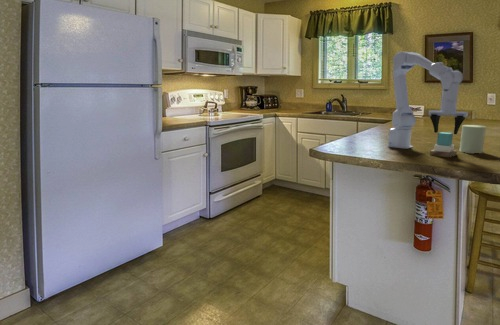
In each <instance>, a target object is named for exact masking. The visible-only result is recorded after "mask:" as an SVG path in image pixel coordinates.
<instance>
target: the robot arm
mask: <svg viewBox="0 0 500 325" xmlns="http://www.w3.org/2000/svg"><path fill="white" fill-rule="evenodd" d="M392 61H393V68H392V80H393V90H394V97H395V106H396V107H395V108H396V109H395V110H394V111H393V112H392V118H391V124H392V128H390V129H389V130H388V139H387V140H388V141H387V146H386V147H387V148H395V149H397V148H398V149H403V150H404V149H405V150H406V149H410V148H413V147H414V146H413V145H411V137H412V130H413V127H415V125H416V122H417V120H416V119H417V118H416V117H415V115H414V110H413V109H412V108H411V107H410V104H409V94H408V86H407V85H408V84H407V76H406V75H407V73H408V72H409V71H410V70H411V69H413V68H414V67H415V66H419V67H421V68H424V69H426V70H427V71H428V73H429V75H431V76H433V77H434V78H436V79H437V80H439V81H440V83H441V88H442V93H441V102H440V110H428V116H429V118H430V120H431V123H432V126H433V133H437V134H438V133H439V123H440V118H441V116H442V117H443V116H444V117H445V116H446V117H454V130H453V135H458V132H459V129H460V128H461V125H462V124H463V122H464V120H465V119H466V118H468V116H469V112H468V111H458V110H457V105H458V104H457V103H458V97H459V96H458V95H459V86H460V84H461V83H462V82H463V78H464V75H463V73H462V71H460V70H453V68H452V67H451V66H450V67H448V66H446V65H445V63H444V62H442V61H439V62H432V61H431V60H429V59H428V58H426V57H425V56H423V55H422V54H420V53H418V52H416V51H398V52H397V53H395V55H394V56H393V58H392Z"/></svg>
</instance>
